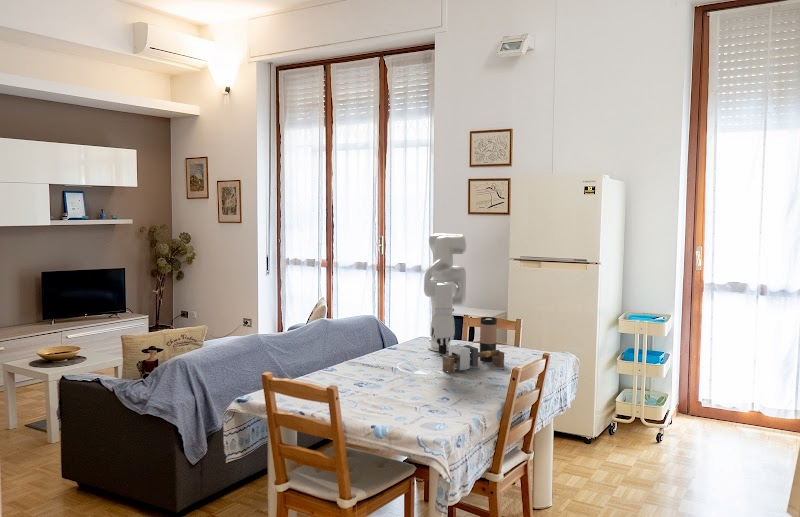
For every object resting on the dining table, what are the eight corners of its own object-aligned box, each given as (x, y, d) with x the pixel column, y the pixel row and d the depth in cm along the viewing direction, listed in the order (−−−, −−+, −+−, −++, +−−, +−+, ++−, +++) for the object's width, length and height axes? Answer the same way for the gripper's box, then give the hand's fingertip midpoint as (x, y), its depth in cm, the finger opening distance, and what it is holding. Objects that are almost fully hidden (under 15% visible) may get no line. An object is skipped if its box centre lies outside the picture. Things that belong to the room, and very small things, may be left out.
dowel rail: (450, 373, 290) (450, 357, 289) (442, 370, 295) (442, 354, 294) (503, 366, 304) (504, 350, 303) (495, 363, 309) (496, 348, 308)
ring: (473, 367, 294) (473, 349, 293) (462, 363, 301) (463, 345, 300) (477, 366, 295) (478, 348, 295) (467, 362, 302) (467, 344, 302)
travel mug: (495, 358, 319) (496, 317, 317) (496, 362, 311) (497, 320, 309) (479, 358, 320) (480, 316, 318) (479, 362, 312) (480, 319, 310)
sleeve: (459, 370, 290) (460, 349, 289) (448, 365, 298) (448, 345, 297) (469, 368, 293) (469, 348, 292) (457, 364, 300) (458, 344, 300)
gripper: (453, 309, 296) (452, 350, 297) (423, 311, 289) (423, 353, 290) (462, 311, 289) (461, 353, 291) (433, 314, 282) (432, 357, 284)
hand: (442, 353), depth 291 cm, fingers closed
